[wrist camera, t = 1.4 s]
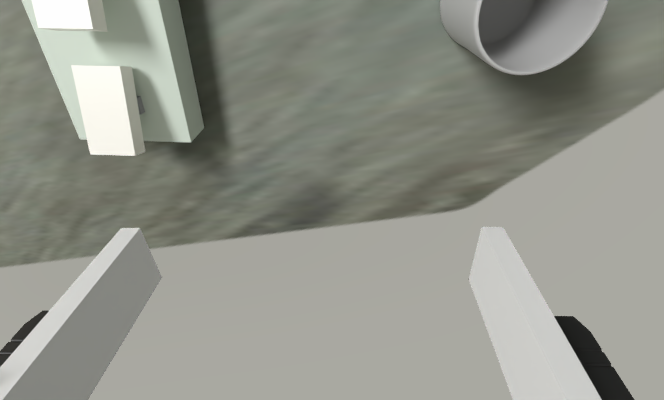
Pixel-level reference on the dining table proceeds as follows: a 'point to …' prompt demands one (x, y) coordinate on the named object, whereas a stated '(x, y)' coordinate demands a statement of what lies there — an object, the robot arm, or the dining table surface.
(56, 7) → the rocker middle
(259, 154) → the dining table surface
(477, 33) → the mug
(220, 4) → the dining table surface
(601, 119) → the dining table surface
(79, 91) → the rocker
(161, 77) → the switch unit
